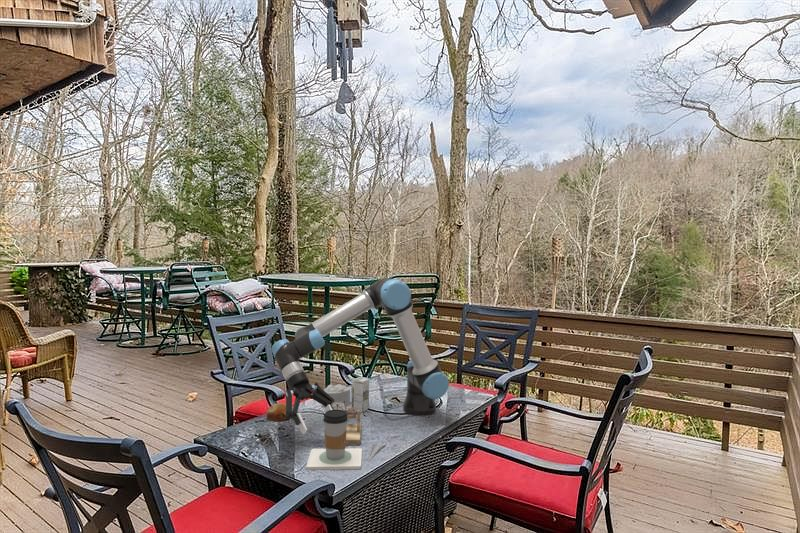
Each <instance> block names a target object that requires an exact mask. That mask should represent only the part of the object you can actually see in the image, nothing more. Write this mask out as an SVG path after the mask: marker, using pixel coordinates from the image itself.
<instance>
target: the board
mask: <svg viewBox="0 0 800 533" xmlns="http://www.w3.org/2000/svg"><path fill="white" fill-rule="evenodd" d="M362 459H363V447H361V448H360V447H359V448H356V447H355V448H349V447H348V448H346V447H345V455H344V457H343V458H341V459H338V460H331V459H328V458H327V456H326V448H311V451H310V454H309V457H308V460H307V463H306V467H305V470H306V471H317V470H318V471H319V470H323V471H324V470H326V471H327V470H334V471H335V470H339V471H340V470H362V461H363V460H362Z"/></svg>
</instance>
